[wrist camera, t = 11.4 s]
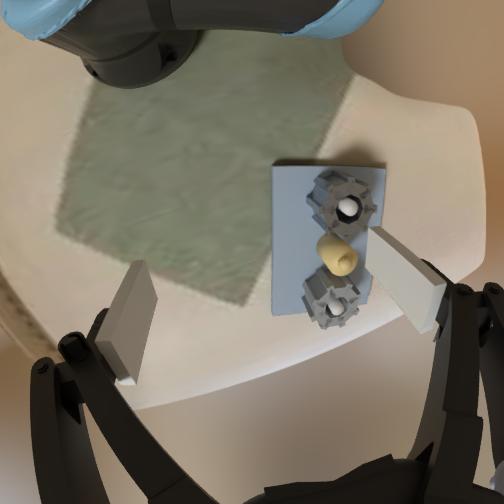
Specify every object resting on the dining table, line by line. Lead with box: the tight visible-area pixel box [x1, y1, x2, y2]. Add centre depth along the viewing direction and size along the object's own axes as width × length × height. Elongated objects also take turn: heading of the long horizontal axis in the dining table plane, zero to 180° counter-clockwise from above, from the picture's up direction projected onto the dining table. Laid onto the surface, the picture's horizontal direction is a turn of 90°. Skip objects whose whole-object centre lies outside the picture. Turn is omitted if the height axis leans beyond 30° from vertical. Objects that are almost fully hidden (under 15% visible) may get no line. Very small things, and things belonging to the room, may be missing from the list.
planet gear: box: [306, 170, 378, 241], centre depth 33 cm, size 8×8×5 cm
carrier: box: [271, 165, 386, 330], centre depth 36 cm, size 22×16×7 cm
